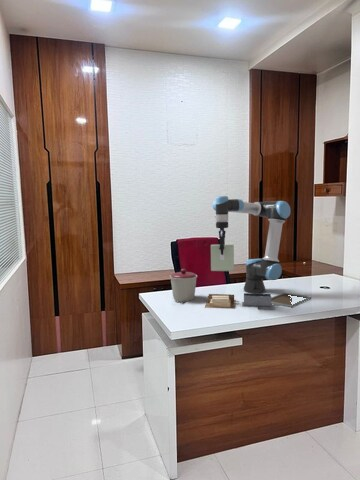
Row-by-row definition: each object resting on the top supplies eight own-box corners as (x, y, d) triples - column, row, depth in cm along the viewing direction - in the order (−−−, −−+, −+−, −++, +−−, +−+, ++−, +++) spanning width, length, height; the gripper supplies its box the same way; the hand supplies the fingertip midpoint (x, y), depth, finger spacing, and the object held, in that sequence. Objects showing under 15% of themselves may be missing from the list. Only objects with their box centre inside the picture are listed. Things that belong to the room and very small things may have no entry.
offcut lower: (211, 303, 219) (211, 299, 219) (230, 303, 217) (230, 299, 217) (209, 306, 211) (209, 302, 211) (230, 307, 209) (230, 303, 209)
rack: (207, 301, 229) (207, 292, 229) (235, 301, 226) (235, 293, 226) (204, 310, 210) (204, 301, 209) (235, 311, 207) (235, 302, 206)
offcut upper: (212, 299, 218) (212, 295, 218) (228, 299, 217) (228, 295, 217) (212, 302, 211) (212, 298, 211) (229, 302, 210) (229, 298, 210)
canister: (200, 297, 239) (199, 266, 236) (194, 305, 221) (193, 271, 219) (174, 296, 243) (174, 266, 241) (166, 303, 226) (165, 270, 224)
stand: (242, 304, 221) (242, 292, 220) (271, 305, 217) (272, 293, 217) (242, 308, 211) (242, 296, 210) (273, 310, 208) (273, 297, 207)
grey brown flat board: (311, 296, 231) (289, 307, 210) (311, 299, 231) (289, 309, 210) (284, 292, 244) (261, 301, 223) (284, 294, 244) (261, 303, 223)
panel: (211, 270, 222) (211, 244, 221) (233, 270, 220) (233, 244, 218) (211, 270, 220) (210, 245, 218) (233, 271, 217) (233, 245, 216)
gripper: (216, 220, 225) (217, 257, 227) (214, 222, 210) (215, 261, 212) (228, 220, 224) (229, 257, 226) (227, 222, 208) (227, 261, 211)
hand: (222, 259), depth 219 cm, fingers closed on panel, 2 cm apart
